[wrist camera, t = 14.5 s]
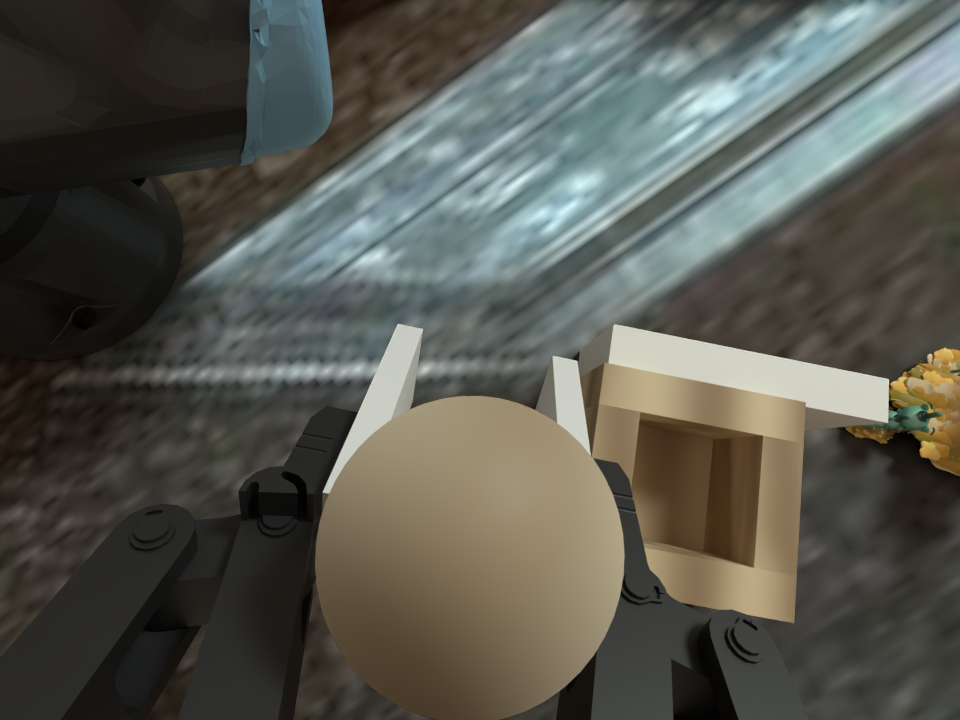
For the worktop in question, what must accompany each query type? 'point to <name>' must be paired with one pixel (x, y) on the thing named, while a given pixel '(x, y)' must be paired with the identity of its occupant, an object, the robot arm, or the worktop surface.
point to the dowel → (469, 559)
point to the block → (706, 483)
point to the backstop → (747, 374)
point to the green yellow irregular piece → (925, 410)
